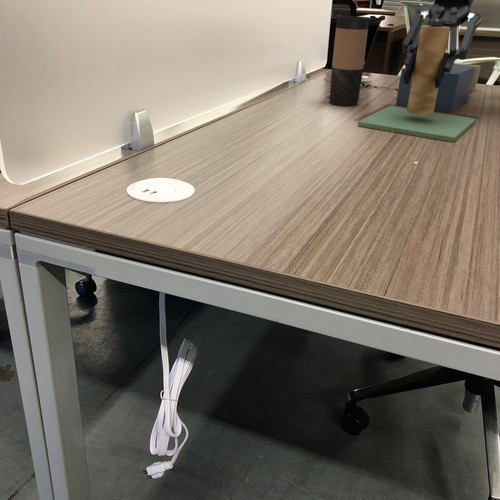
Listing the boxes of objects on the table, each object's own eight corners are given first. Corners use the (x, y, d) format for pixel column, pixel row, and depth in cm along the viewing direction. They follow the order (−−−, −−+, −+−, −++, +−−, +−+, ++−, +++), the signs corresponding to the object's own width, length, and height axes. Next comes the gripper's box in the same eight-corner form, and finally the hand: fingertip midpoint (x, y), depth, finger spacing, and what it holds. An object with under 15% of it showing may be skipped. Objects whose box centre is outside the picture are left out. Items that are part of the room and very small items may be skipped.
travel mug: (364, 105, 127) (376, 18, 117) (338, 107, 124) (347, 17, 115) (348, 99, 133) (358, 16, 123) (323, 101, 130) (331, 15, 121)
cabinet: (415, 94, 141) (421, 61, 137) (466, 101, 135) (474, 66, 131) (395, 104, 129) (401, 68, 125) (451, 112, 122) (459, 74, 118)
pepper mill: (436, 111, 110) (455, 18, 101) (429, 116, 106) (448, 19, 97) (411, 108, 113) (427, 17, 104) (403, 112, 109) (419, 18, 100)
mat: (475, 123, 113) (476, 118, 113) (453, 142, 98) (454, 137, 98) (389, 110, 123) (389, 106, 122) (357, 126, 108) (357, 121, 107)
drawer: (434, 83, 153) (439, 59, 150) (478, 89, 147) (483, 64, 144) (414, 93, 138) (419, 66, 135) (462, 99, 132) (468, 72, 129)
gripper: (503, 7, 107) (468, 99, 102) (415, 3, 116) (379, 87, 111) (505, -22, 100) (468, 74, 96) (413, -24, 109) (374, 64, 105)
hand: (421, 81), depth 103 cm, fingers closed on pepper mill, 6 cm apart
